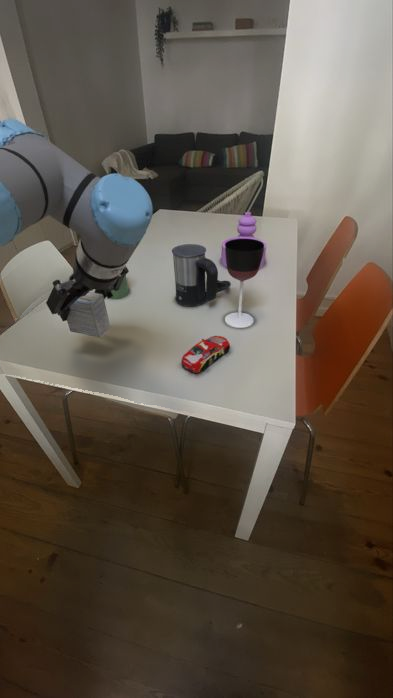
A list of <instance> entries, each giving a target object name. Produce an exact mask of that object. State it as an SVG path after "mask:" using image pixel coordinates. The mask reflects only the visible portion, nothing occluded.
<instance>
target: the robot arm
mask: <svg viewBox="0 0 393 698" xmlns="http://www.w3.org/2000/svg"><path fill="white" fill-rule="evenodd" d="M153 212H154V207H153V202H152V199H151V197H150V195H149V193H148V192H147V190H146V189H145V187H144V186H143V185H142V184H141V183H140V182H138V181H137V180H136V179H134V178H133V177H131V176H129V177H127V176H124V175H122V173H121V174H120V173H108V174H106V175H104V176H102V177H100V176H97V175H96V174H94V172H92V171H90V170H89V169H87V168H86V167H85V166H83V165H82V164H81V163H79V162H78V161H77V160H75V159H74V158H72V157H71V156H70V155H68V153H66V152H64V150H62V149H61V148H59V147H58V146H57V145H55V144H54V143H52V142H51V141H50V140H49V139H48V138H47V137H46V136H44V134H42V133H41V132H38V131H35V130H34V129H33V128H31V127H29V126H27V125H26V124H25V123H23V122H22V121H20V120H18V119H16V118H15V119H14V118H6V119H3V120H1V121H0V248H1V247H4V246H6V245H8V244H9V243H11V242H12V241H13V240H14V239H15V238H16V237H17V236H18V235H19V234H21V233H22V232H23V231H25V230H27V229H28V228H29V227H31V226H32V225H35V224H37V223H38V222H40V221H41V220H43V219H45V218H46V217H48V216H49V217H50V218H52V219H54V220H56V221H57V222H58V223H60V224H61V225H63V226H65V227H66V228H67V229H69V230H72V231H73V232H75V233H76V234H78V235H79V236H80V237H79V241H78V244H77V247H76V252H75V254H74V258H73V261H72V262H73V263H72V272H73V273H71V275H70V276H69V277H68V280H66V281H63V280H60V279H56V280H53V282H52V285H53V287H52V289H51V290H50V291H51V292H50V294H49V295H48V298H47V299H46V302H45V304H46V306H47V308H48V309H49V311H50V314H52V315H57V316H59V317H60V319H61V320H62V322H65V321H66V322H67V317H68V315H69V312H70V309H69V307H70V306H71V305H72V304H73V303H74V302H75V301H76V300H77V299H78V298H79V297H82V296H85V295H86V294H87V293H88V292H93V293H98V294H103V297H104V301H105V300H106V298H107V299H112V298H111V297H113V294H112V292H111V291H112V290H114V291H118V290H119V289H120V287H121V284H122V282H123V279H124V277H125V275H126V276H127V274H128V273H129V272H130V271H129V269H128V267H127V263H128V262H129V260H130V259H131V257H132V255H134V253H135V251H136V249H137V248H138V246H139V244H140V243H141V242H142V240H143V239H144V236H145V235H146V234H147V230H148V227H149V226H150V224H151V221H152V218H153V214H154V213H153Z"/></svg>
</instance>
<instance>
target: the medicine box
mask: <svg viewBox="0 0 393 698" xmlns="http://www.w3.org/2000/svg"><path fill="white" fill-rule="evenodd" d="M69 309H70V312H69V315H68V317H67V320H66V322H67V325H68V328H69V331H70V332H71V333H76V334H80V335H86V336H89V337H95V338H100V339H101V338H102V337H103V336H104V335H105V334H106V333H107V332H108V331H109V330H110V328H111V326H112V325H111V322H110V318H109V314H108V309H107V306H106V301H105V300H104V297H103V294H98V293H94V291H89V292H88V293H87V294H86V295H85V296H82V297H79V298H78V299H77V300H76V301H75V302H74V303H73V304H72V305H71V306H70V307H69Z"/></svg>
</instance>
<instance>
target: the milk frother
mask: <svg viewBox="0 0 393 698" xmlns="http://www.w3.org/2000/svg"><path fill="white" fill-rule="evenodd" d="M206 252H207V248H206V246H204V245H201V244H196V243H185V244H180V245H179V244H178V245H177V246H174V247H173V248H171V253H172V259H173V261H172V262H173V270H174V271H173V272H174V283H175V299H174V300H175V302H176V303H177V304H179V305H180V306H183V307H184V306H185V307H196V306H200V305H203V304H204V303H206V301H207V302H212V301H214V300H215V299H216V298H217V294H218V293H221V292H223V291H225V290H227V289H228V288H230V287H231V285H232V284H231V281H229V280H219V271H218V268H217V265H216V264H215V262H214V261H212V259H210V258H207V257H206Z"/></svg>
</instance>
